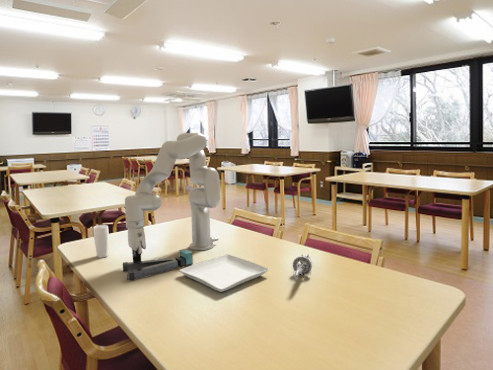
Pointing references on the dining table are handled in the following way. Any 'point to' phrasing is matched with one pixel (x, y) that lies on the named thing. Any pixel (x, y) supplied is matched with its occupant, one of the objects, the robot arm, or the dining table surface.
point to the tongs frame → (156, 268)
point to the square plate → (224, 272)
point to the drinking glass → (101, 240)
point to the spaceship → (302, 266)
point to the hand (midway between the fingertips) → (137, 263)
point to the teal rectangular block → (186, 256)
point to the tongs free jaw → (143, 264)
